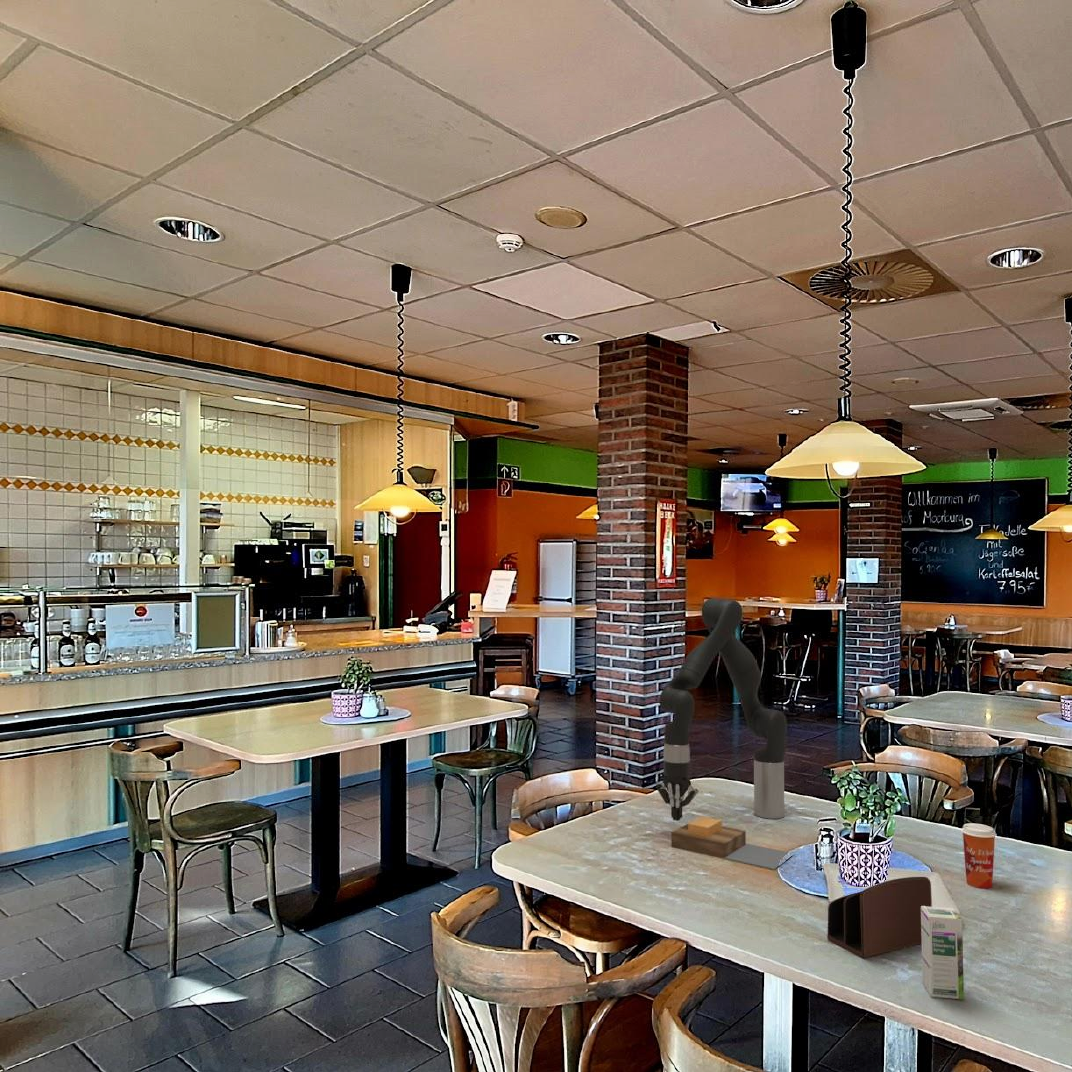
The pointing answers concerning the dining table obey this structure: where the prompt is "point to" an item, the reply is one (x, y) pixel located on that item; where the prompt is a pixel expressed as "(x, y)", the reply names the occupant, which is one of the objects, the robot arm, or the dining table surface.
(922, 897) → the letter holder
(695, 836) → the wooden block
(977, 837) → the paper cup
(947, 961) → the syrup box
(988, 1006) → the dining table surface
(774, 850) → the mat
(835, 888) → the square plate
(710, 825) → the orange rectangular block
